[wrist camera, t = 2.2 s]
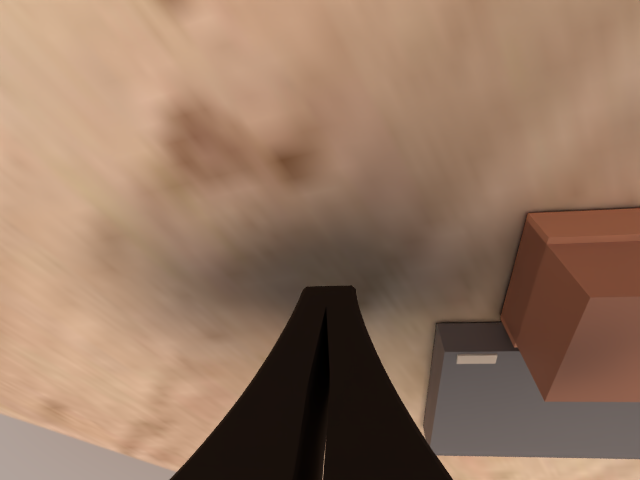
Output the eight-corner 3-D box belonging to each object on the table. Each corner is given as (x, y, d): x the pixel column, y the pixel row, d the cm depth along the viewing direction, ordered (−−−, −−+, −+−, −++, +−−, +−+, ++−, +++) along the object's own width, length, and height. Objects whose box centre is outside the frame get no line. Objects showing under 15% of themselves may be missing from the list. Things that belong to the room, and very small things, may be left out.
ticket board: (906, 315, 11) (965, 349, 10) (776, 430, 15) (809, 463, 14) (437, 323, 12) (445, 353, 11) (423, 426, 16) (428, 456, 15)
